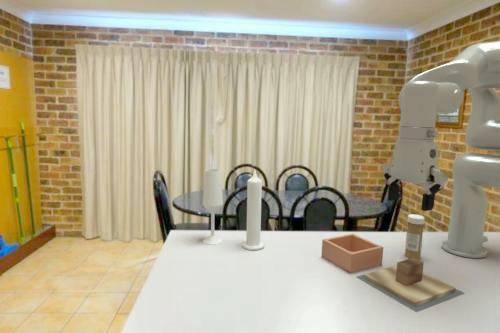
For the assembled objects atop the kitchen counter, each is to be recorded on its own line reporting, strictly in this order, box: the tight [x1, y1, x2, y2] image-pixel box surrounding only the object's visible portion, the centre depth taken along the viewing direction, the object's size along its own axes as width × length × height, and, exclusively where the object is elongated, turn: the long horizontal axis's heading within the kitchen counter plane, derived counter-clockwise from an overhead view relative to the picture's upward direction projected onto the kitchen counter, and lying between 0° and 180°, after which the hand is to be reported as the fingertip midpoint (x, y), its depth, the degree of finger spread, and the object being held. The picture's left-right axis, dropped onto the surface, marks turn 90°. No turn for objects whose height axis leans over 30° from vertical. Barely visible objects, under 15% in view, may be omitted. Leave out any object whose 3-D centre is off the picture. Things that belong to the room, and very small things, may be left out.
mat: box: [356, 264, 466, 313], centre depth 88 cm, size 18×18×1 cm
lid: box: [364, 258, 457, 307], centre depth 88 cm, size 15×15×6 cm
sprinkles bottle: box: [403, 213, 426, 261], centre depth 104 cm, size 5×5×13 cm
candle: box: [241, 169, 265, 252], centre depth 110 cm, size 7×7×25 cm
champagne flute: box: [202, 168, 224, 246], centre depth 114 cm, size 7×7×24 cm
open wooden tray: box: [320, 233, 384, 274], centre depth 101 cm, size 12×12×6 cm
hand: (409, 204), depth 85 cm, fingers open, 9 cm apart
